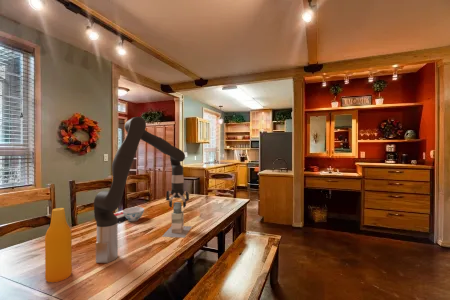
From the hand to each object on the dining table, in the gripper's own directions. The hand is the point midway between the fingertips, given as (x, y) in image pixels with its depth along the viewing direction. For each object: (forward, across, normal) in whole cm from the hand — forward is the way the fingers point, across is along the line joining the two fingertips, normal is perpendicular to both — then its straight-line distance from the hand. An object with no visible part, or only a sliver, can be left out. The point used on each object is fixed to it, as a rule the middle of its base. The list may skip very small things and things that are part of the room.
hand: (177, 207), depth 146 cm
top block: (+9, 0, 0) cm, 9 cm away
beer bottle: (+17, -36, -52) cm, 66 cm away
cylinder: (+3, 0, 0) cm, 3 cm away
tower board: (+17, 0, 0) cm, 17 cm away
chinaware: (+17, -41, +23) cm, 50 cm away
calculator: (+18, -52, +23) cm, 60 cm away
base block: (+15, 0, 0) cm, 15 cm away
